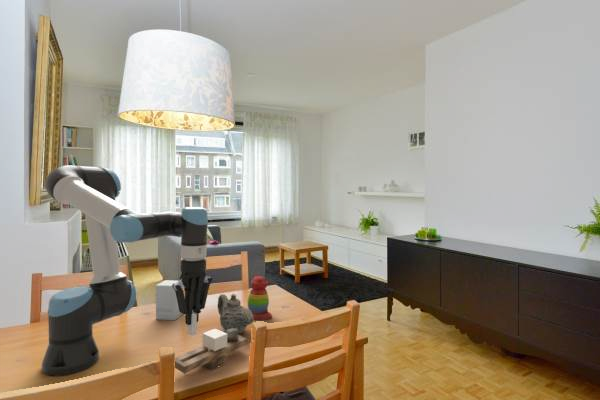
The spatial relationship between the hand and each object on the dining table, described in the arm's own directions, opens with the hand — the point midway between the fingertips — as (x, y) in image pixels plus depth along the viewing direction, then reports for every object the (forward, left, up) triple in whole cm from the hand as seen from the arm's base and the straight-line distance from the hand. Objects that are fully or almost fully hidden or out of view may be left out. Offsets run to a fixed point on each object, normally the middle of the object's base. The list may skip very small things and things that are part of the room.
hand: (191, 333), depth 105 cm
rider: (+8, -1, -9) cm, 12 cm away
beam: (+7, -1, -12) cm, 14 cm away
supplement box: (+20, +46, -12) cm, 52 cm away
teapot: (+28, +13, -12) cm, 33 cm away
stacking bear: (+46, +17, -12) cm, 51 cm away
